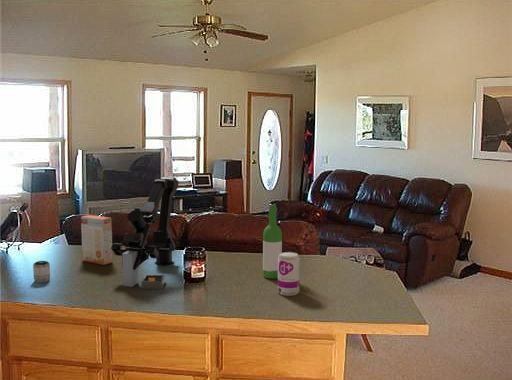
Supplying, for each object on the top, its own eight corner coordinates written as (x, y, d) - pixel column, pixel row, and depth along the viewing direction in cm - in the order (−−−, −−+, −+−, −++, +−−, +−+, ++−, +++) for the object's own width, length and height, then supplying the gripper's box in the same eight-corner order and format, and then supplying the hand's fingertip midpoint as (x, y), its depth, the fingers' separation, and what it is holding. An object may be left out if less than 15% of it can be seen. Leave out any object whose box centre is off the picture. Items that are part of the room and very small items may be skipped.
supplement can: (292, 297, 211) (293, 258, 209) (273, 293, 216) (273, 255, 214) (303, 292, 218) (303, 253, 216) (284, 288, 223) (284, 250, 221)
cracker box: (113, 262, 259) (112, 217, 256) (103, 265, 254) (101, 219, 251) (92, 258, 267) (90, 214, 264) (81, 261, 262) (80, 216, 259)
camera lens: (44, 277, 235) (43, 259, 234) (53, 280, 232) (52, 261, 231) (30, 281, 230) (29, 262, 229) (39, 284, 227) (39, 264, 226)
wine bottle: (283, 279, 235) (284, 206, 231) (264, 279, 234) (265, 207, 230) (279, 273, 243) (280, 203, 239) (261, 274, 241) (261, 204, 237)
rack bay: (145, 282, 230) (145, 272, 229) (165, 282, 230) (164, 271, 229) (141, 288, 221) (141, 278, 220) (162, 288, 221) (161, 278, 221)
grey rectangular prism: (128, 282, 230) (128, 250, 228) (138, 283, 229) (137, 251, 227) (122, 285, 225) (122, 253, 223) (132, 286, 224) (131, 254, 222)
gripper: (112, 223, 230) (99, 256, 221) (155, 225, 225) (143, 260, 216) (122, 238, 238) (109, 271, 229) (163, 241, 234) (152, 274, 224)
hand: (128, 269), depth 224 cm, fingers closed on grey rectangular prism, 4 cm apart
